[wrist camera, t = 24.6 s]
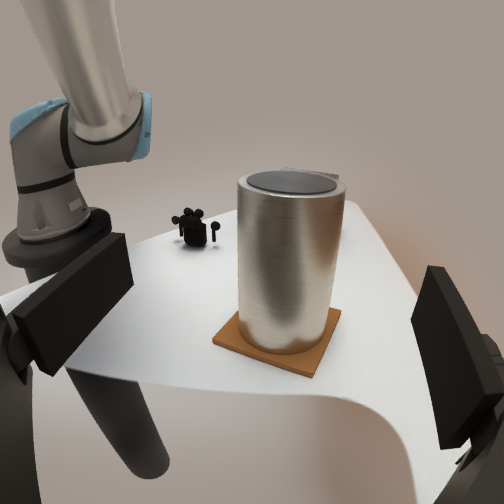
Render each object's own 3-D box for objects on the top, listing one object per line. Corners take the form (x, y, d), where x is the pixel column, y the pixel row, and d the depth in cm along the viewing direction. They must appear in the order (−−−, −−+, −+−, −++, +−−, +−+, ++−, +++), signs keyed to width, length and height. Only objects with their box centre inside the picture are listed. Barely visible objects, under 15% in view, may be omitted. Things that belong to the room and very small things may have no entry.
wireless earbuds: (222, 246, 40) (221, 209, 38) (213, 255, 38) (212, 216, 36) (176, 238, 42) (173, 203, 40) (166, 246, 40) (162, 209, 38)
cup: (222, 336, 24) (215, 185, 19) (261, 292, 30) (265, 165, 25) (308, 366, 21) (332, 203, 16) (334, 312, 27) (354, 178, 22)
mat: (212, 342, 24) (211, 338, 24) (258, 291, 31) (258, 287, 31) (311, 378, 21) (312, 373, 21) (340, 314, 28) (341, 310, 27)
